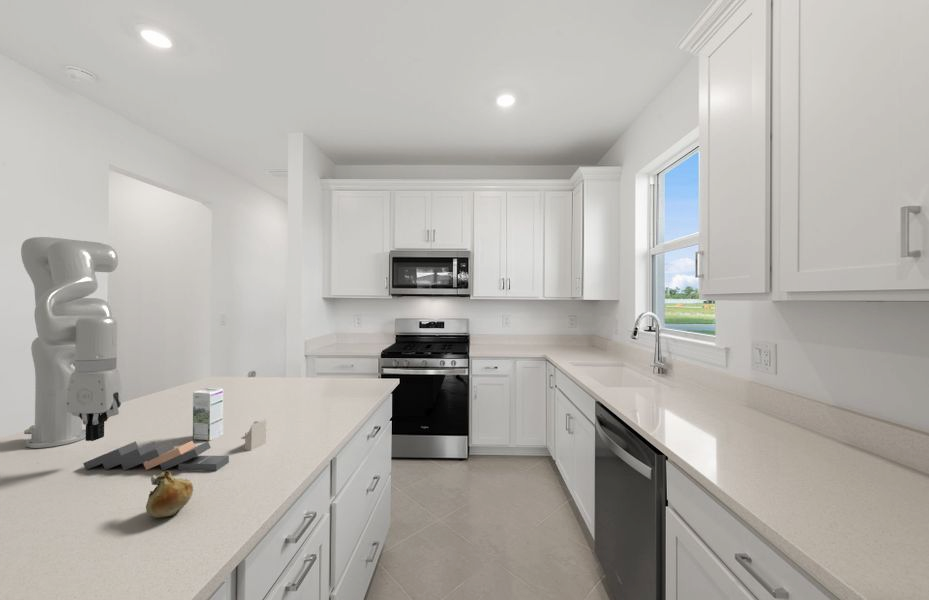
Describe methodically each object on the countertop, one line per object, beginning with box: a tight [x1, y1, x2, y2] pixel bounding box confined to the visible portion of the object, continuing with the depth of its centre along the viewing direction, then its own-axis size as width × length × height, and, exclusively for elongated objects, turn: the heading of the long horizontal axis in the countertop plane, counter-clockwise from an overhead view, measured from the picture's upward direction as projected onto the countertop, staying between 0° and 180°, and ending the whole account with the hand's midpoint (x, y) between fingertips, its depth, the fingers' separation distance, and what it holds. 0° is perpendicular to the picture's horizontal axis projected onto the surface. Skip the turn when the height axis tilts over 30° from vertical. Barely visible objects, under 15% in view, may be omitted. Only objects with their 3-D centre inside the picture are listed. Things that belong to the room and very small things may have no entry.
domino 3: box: [120, 441, 175, 471], centre depth 95 cm, size 2×5×9 cm
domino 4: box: [142, 440, 196, 471], centre depth 95 cm, size 2×5×9 cm
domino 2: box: [102, 441, 158, 471], centre depth 95 cm, size 2×5×9 cm
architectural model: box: [240, 419, 269, 452], centre depth 109 cm, size 3×7×7 cm, turn 167°
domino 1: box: [82, 441, 139, 471], centre depth 95 cm, size 2×5×9 cm
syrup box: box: [192, 387, 224, 442], centre depth 115 cm, size 6×6×14 cm
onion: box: [145, 469, 194, 519], centre depth 74 cm, size 8×8×8 cm
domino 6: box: [178, 455, 230, 472], centre depth 95 cm, size 2×5×9 cm
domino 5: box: [159, 441, 212, 471], centre depth 95 cm, size 2×5×9 cm
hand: (94, 438), depth 95 cm, fingers closed
